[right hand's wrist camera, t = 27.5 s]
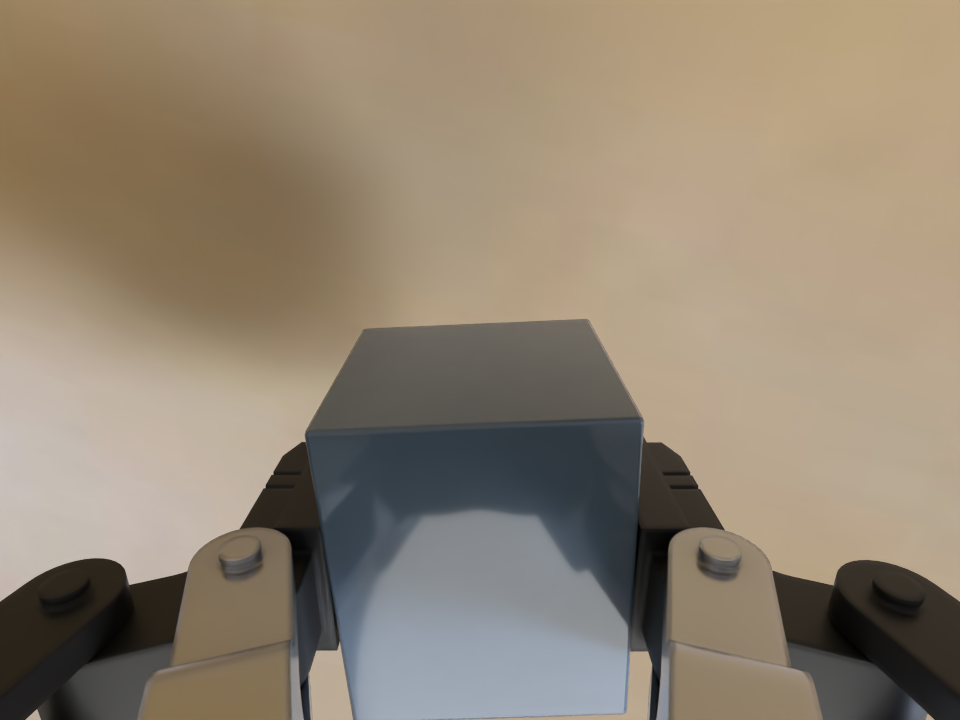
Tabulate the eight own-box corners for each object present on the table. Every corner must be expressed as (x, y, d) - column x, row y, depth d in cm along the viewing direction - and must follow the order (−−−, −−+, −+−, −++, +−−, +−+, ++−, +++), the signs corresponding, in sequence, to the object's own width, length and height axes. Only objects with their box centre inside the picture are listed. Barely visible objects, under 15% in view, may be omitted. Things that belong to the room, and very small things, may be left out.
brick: (589, 317, 11) (646, 417, 8) (584, 542, 13) (628, 716, 9) (362, 327, 12) (302, 432, 8) (389, 550, 13) (352, 725, 10)
